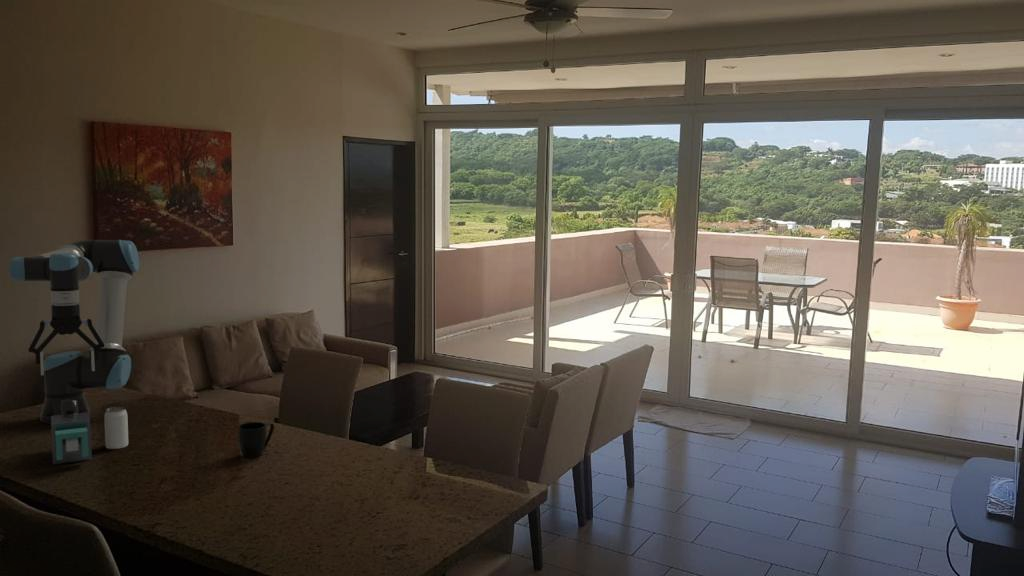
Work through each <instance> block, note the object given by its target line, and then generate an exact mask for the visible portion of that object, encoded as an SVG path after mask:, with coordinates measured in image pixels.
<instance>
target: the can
mask: <svg viewBox="0 0 1024 576" xmlns="http://www.w3.org/2000/svg"><path fill="white" fill-rule="evenodd" d="M126 409H127V408H126V407H124V406H115V407H114V406H113V407H109V408H106V409H105V413H104V439H105V441H104V443H105V444H104V445H105V446H104V447H105V448H106V449H107V450H120V449H124V448H127V446H128V445H129V425H128V423H129V421H128V418H129V417H128V412H127V410H126Z"/></svg>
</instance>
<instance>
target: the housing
mask: <svg viewBox="0 0 1024 576" xmlns="http://www.w3.org/2000/svg"><path fill="white" fill-rule="evenodd" d="M90 417H91V415H90V416H89V412H84V413H74V414H65V415H55V416H51V424H50V428H51V431H50V432H51V433H50V434H51V448H52V449H51V451H52V454H51V455H52V465H59V464H67V463H73V462H74V463H75V462H82V461H84V462H85V461H90V460H93V459H92V434H91V433H92V430H91V418H90ZM86 427H87V434H88V456H86V457H82V440H81V437H78V450H77V451H69V452H66V439H62V456H63V459H62V460H57V458H56V435H55V431H60V430H69V429H78V428H86Z"/></svg>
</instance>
